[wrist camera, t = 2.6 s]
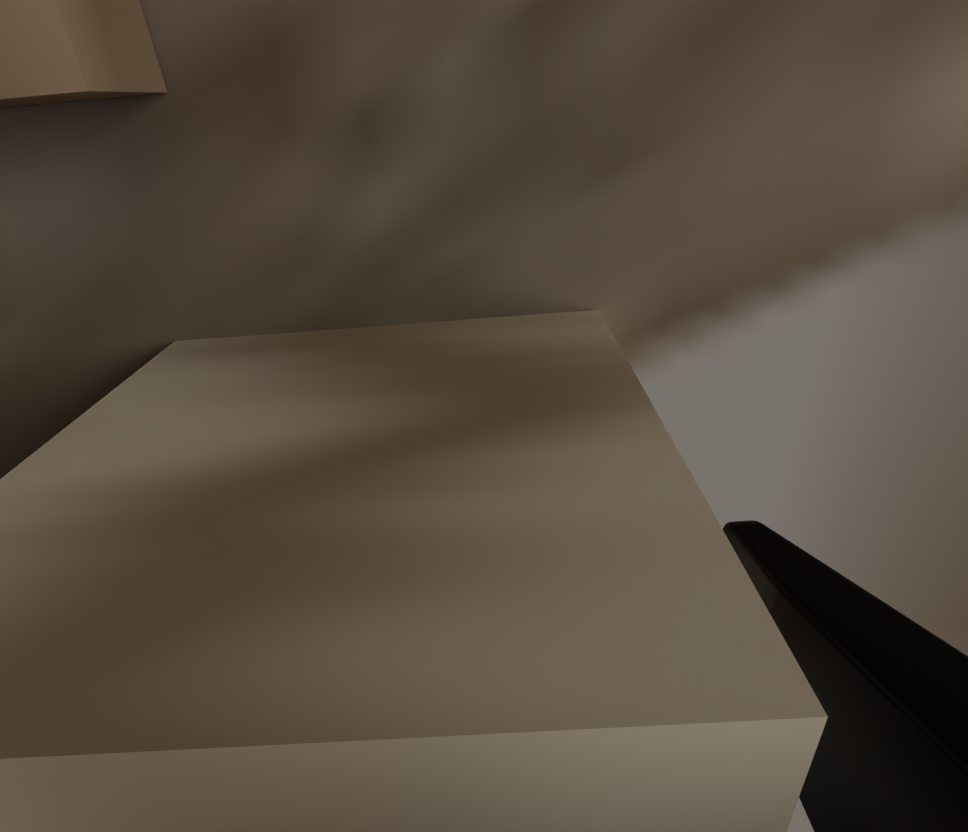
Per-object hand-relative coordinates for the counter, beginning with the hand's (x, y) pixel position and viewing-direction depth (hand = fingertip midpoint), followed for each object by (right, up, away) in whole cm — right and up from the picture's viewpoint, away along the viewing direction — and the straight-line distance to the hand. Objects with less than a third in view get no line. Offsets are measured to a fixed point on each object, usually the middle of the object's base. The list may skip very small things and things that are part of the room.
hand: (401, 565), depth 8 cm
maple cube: (0, +1, +2) cm, 2 cm away
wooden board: (-12, +13, -6) cm, 19 cm away
